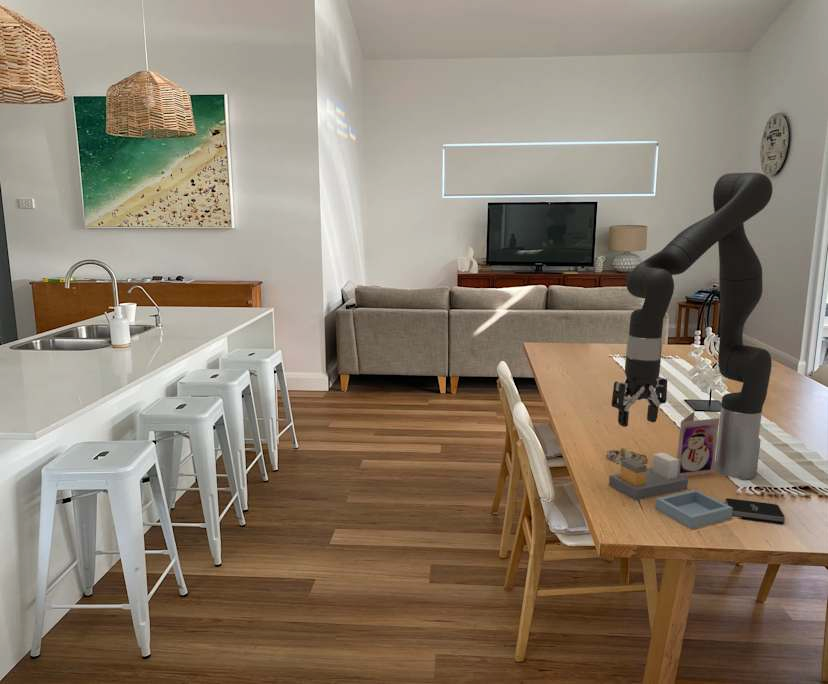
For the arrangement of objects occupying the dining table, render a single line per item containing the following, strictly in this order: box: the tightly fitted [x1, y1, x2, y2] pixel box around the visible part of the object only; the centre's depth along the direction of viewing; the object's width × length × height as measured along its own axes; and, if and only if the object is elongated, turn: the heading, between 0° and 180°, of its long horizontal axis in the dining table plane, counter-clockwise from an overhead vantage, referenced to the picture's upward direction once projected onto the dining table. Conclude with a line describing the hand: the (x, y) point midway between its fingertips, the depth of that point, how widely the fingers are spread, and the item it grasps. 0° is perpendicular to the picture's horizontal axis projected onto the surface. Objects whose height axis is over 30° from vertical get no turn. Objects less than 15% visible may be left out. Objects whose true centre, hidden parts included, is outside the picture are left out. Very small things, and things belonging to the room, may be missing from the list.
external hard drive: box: [723, 497, 786, 525], centre depth 142 cm, size 7×11×2 cm, turn 73°
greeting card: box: [676, 411, 720, 477], centre depth 164 cm, size 11×7×15 cm, turn 106°
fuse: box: [652, 452, 679, 480], centre depth 156 cm, size 3×5×7 cm, turn 24°
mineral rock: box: [605, 447, 649, 465], centre depth 172 cm, size 11×4×8 cm
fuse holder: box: [608, 466, 689, 501], centre depth 155 cm, size 16×9×3 cm, turn 114°
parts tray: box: [654, 489, 733, 531], centre depth 141 cm, size 12×10×3 cm
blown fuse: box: [619, 458, 648, 486], centre depth 152 cm, size 3×5×7 cm, turn 24°
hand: (637, 423), depth 149 cm, fingers open, 8 cm apart
